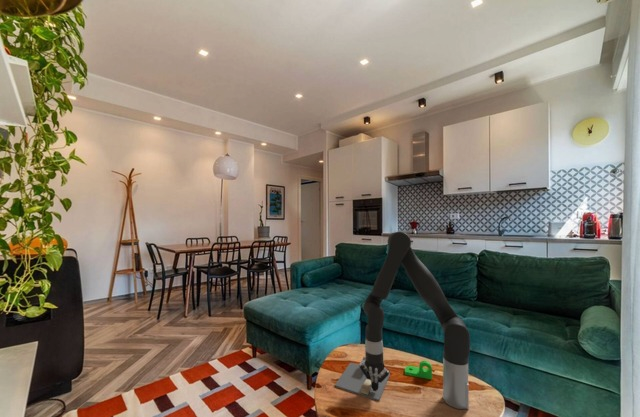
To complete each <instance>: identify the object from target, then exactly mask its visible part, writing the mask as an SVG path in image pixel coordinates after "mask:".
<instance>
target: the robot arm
mask: <svg viewBox="0 0 640 417" xmlns="http://www.w3.org/2000/svg"><path fill="white" fill-rule="evenodd" d="M411 245H412V239H411V237H410V236H409V235H408V234H407V233H406V232H403V231H395V232H393V233H391V234H390V235H389V236H388V238H387V246H388V251H387V255H386V258H385V260H384V263H383V265H382V267H381V268H380V270H379V273H378V274H377V276H376V279H375V281H374V284H373V287H372V290H371V291H370V293H369V294H368V296H367V298H366V299H365V302H364V304H363V313H364V314H365V315H366V317H367V324H366V326H365V343H364V349H365V350H364V351H365V352H364V353H365V354H364V355H365V356H364V357H366V360H365V363H364V364H363V363H362V364H361V366H360V368H361V370H362V372H363V373H364V375H365V376H366V378H367V379H370V380H371V388H372V389H373V391H377V390H378V388H379V382H380V383H381V382H382V381H383V380H384V379H385V378H386V377H387V376H388V375H389V373H390V370H389V369H387V368H386V366H385V363H384V343H383V327H384V322H385V312H384V309H383V307H382V306H381V304H382V302H383V301H384V300H387V298H388V297H389V295H390V291H391V289H392V286H393V284H394V281H395V278H396V276H397V273H398V271H399V267H400V266H401V265H402V267H403V268H404V271H405V273H406V274H407V276H408V278H409V279H410V282H411V283H412V285H413V287H414V288H415V290H416V292H417V294H418V295H419V296H420V297H421V299H422V300H423V302H424V303H425V304H426V305H427V306H428V307H429V308H430V309H431V310H432V311H433V313H434V315H435V316H436V318H437V320H438V322H439V325H440V326H441V328H442V329H441V330H442V332H443V334H444V335H443V341H444V342H443V350H442V376H443V377H442V397H443V401H444V402H445V403H446V404H447V405H448V406H450V407H452V408H454V409H458V410H469V408H470V407H469V398H470V396H469V394H470V392H469V391H470V390H469V359H470V352H471V351H470V348H471V345H470V344H471V336H470V332H469V328H467V326H466V324H465V323H464V321H463V319H461V318H460V316H459V315H458V314H457V313H456V311H455V310H454V309H453V308H452V306H451V305H450V303H449V302H448V299H447V298H446V295H445V293H444V292H443V290H442V288H441V286H440V284H439V283H438V281H437V280H436V278H435V276H434V275H433V274H432V273H431V271H430V270H429V269H428V267H427V266H426V265H425V264H424V263H423V262H422V261H421V260H420V258H419V257H418V256H417V254H416V253H415V251H414V250H413V247H412V246H411ZM366 367H367V368H366ZM382 371H383V375H382V376H381V377H379V374H380V373H381V372H382ZM369 372H370V373H369Z"/></svg>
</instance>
